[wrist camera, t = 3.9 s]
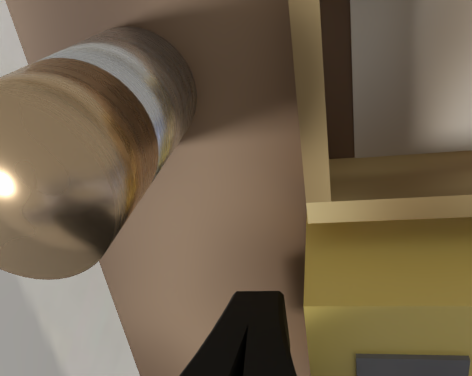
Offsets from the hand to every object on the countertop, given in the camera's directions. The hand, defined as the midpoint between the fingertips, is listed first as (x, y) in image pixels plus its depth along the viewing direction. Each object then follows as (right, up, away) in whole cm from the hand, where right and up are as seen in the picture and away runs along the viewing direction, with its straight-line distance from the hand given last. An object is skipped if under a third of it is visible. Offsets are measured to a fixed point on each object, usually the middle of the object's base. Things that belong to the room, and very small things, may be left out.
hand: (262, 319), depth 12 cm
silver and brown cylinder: (-3, +6, -1) cm, 7 cm away
